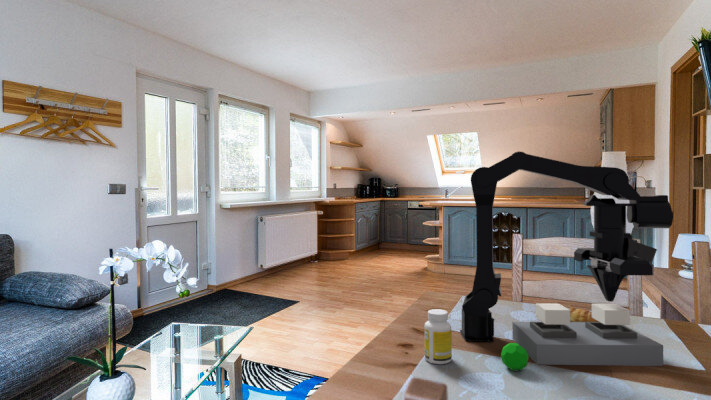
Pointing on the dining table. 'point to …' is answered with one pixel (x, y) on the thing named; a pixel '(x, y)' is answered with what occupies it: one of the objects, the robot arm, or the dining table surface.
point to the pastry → (581, 315)
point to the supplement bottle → (438, 337)
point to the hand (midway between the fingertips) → (609, 301)
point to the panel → (586, 344)
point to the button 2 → (611, 314)
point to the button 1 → (552, 314)
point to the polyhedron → (514, 356)
